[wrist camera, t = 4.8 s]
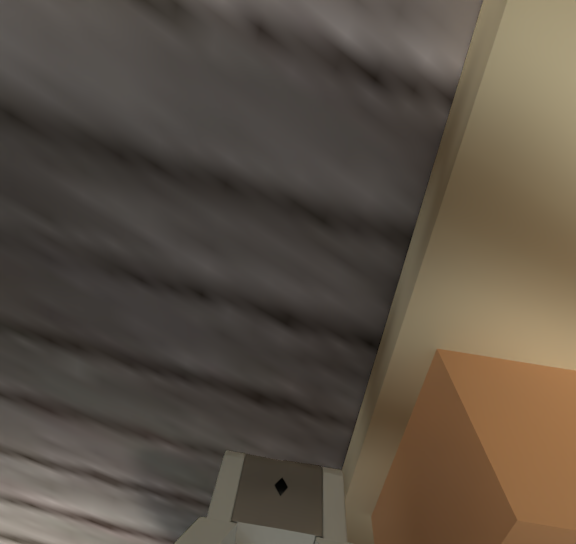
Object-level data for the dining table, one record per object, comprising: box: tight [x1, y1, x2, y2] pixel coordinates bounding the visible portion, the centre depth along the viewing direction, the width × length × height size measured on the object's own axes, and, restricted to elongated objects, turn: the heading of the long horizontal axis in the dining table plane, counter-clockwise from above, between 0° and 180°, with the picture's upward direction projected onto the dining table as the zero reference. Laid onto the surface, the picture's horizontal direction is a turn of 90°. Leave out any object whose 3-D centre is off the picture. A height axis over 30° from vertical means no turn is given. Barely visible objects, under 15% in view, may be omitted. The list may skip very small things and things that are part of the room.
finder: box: [371, 349, 576, 544], centre depth 8 cm, size 7×5×4 cm
